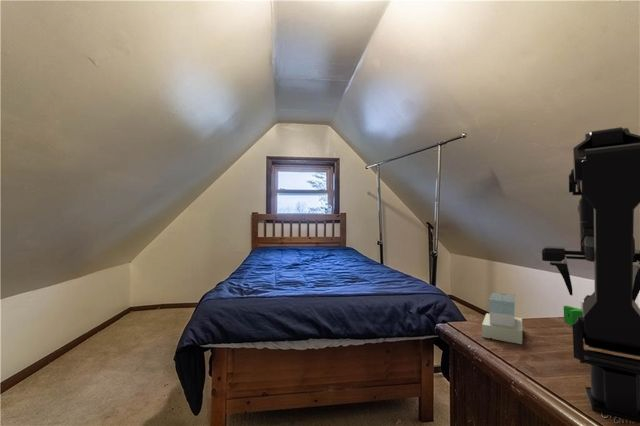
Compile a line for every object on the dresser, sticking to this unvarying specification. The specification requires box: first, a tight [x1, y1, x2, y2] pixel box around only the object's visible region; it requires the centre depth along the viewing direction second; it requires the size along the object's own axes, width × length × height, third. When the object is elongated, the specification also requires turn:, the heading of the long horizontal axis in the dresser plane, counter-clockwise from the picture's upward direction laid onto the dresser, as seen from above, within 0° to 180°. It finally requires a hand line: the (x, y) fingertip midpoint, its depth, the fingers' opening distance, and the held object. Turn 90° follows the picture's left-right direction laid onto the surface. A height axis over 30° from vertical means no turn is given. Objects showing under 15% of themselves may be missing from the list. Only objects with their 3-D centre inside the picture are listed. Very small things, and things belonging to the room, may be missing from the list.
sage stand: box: [481, 313, 523, 345], centre depth 75 cm, size 10×8×3 cm
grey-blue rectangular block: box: [488, 292, 516, 328], centre depth 75 cm, size 5×8×6 cm, turn 146°
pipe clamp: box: [563, 305, 583, 328], centre depth 76 cm, size 11×4×5 cm, turn 19°
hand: (600, 298), depth 62 cm, fingers open, 9 cm apart
